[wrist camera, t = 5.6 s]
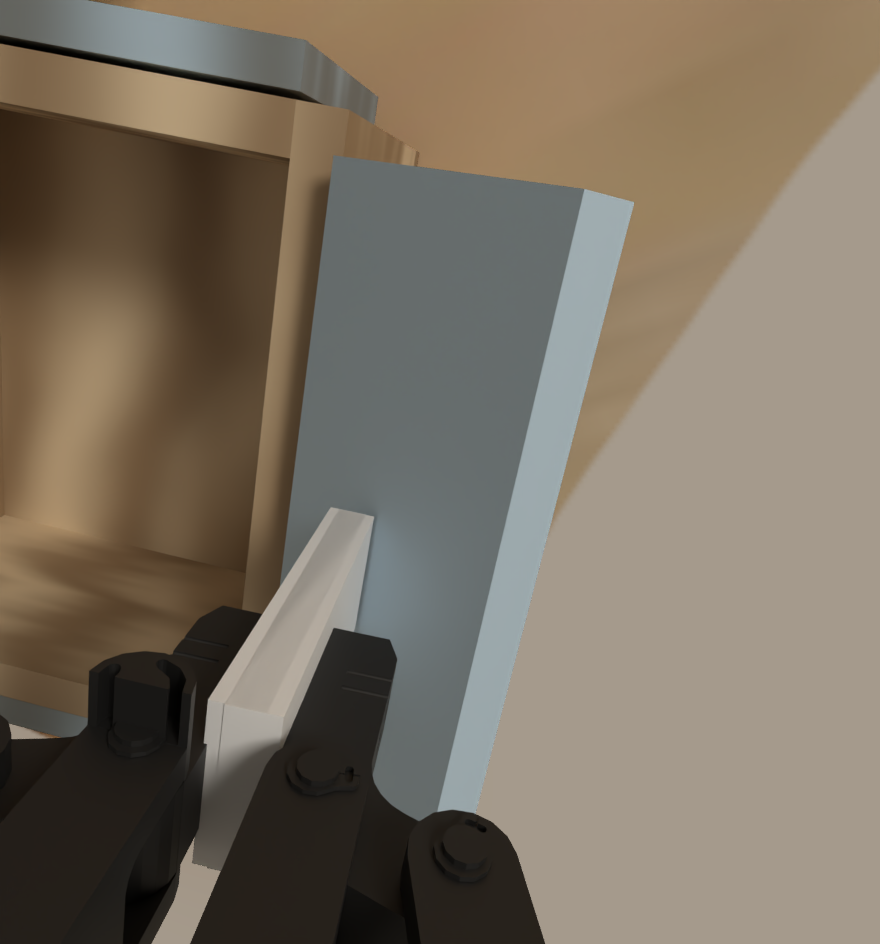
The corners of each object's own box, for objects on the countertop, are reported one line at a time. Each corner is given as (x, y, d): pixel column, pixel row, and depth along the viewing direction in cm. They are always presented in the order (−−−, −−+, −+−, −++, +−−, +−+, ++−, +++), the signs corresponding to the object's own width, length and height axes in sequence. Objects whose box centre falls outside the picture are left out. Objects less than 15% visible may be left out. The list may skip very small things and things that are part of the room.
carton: (-10, 553, 32) (-214, 669, 23) (-26, 28, 25) (-320, -76, 16) (340, 639, 31) (260, 795, 22) (425, 113, 24) (357, 47, 15)
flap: (258, 757, 21) (400, 965, 16) (333, 155, 15) (584, 189, 10) (295, 744, 21) (443, 938, 16) (379, 165, 16) (633, 202, 11)
